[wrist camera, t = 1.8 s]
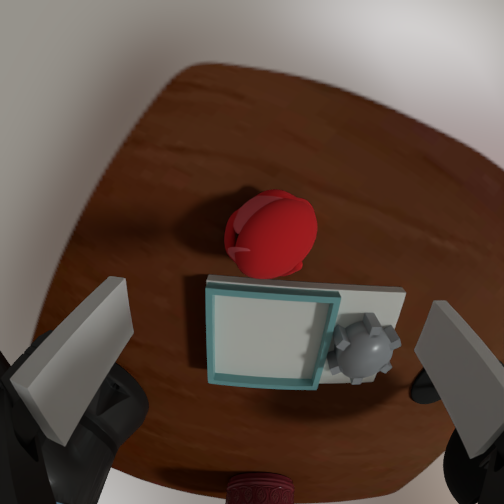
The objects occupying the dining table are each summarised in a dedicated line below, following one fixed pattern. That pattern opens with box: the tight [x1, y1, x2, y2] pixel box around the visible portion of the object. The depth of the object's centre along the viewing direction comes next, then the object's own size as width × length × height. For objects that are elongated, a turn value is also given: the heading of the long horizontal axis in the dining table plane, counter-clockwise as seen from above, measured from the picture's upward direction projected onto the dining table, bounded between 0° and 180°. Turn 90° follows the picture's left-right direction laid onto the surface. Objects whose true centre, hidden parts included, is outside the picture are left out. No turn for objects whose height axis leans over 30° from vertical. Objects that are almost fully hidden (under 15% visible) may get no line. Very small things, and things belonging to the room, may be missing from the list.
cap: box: [224, 189, 317, 279], centre depth 22 cm, size 8×6×6 cm
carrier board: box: [205, 275, 406, 390], centre depth 27 cm, size 19×12×4 cm, turn 86°
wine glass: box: [411, 369, 496, 504], centre depth 21 cm, size 10×10×20 cm
